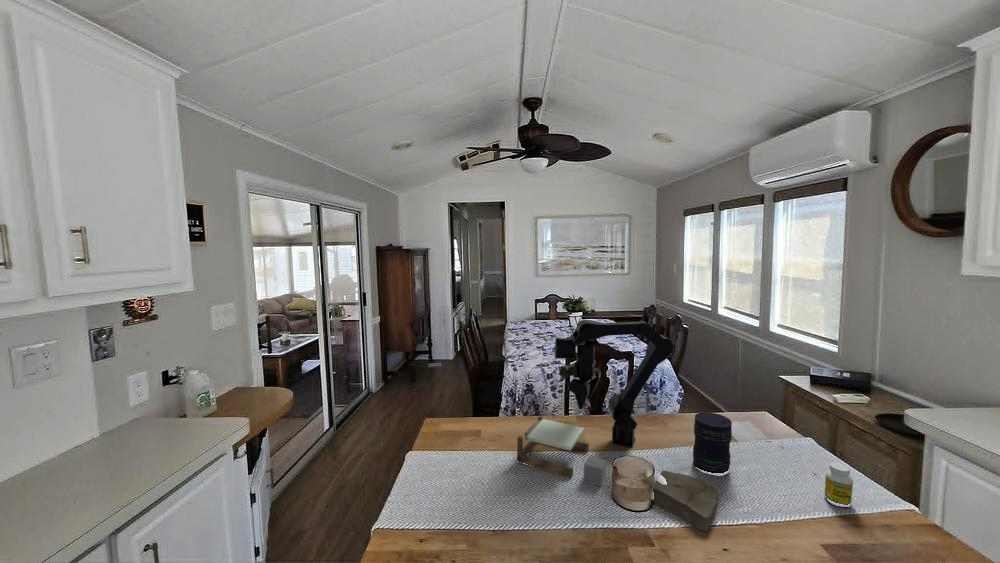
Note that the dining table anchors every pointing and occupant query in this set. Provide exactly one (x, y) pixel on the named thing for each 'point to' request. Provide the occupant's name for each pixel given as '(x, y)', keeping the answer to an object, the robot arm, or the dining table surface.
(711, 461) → the storage jar
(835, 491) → the supplement bottle
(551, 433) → the trapdoor
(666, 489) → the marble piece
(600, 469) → the gray cube
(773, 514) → the dining table surface
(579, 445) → the frame
